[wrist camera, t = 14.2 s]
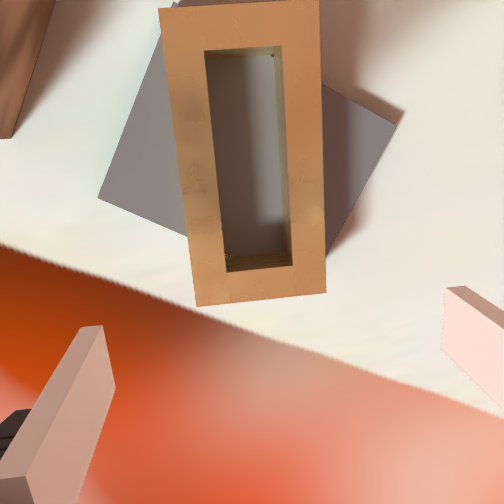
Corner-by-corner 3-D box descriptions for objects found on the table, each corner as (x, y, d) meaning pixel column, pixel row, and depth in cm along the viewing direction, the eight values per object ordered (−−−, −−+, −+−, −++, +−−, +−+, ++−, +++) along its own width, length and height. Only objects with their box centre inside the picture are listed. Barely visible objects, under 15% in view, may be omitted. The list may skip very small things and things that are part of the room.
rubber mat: (174, 6, 23) (173, 1, 22) (390, 125, 27) (397, 125, 26) (101, 195, 26) (97, 197, 25) (304, 283, 29) (308, 288, 28)
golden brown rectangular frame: (306, 14, 23) (319, -2, 20) (314, 275, 28) (326, 292, 25) (165, 23, 23) (158, 8, 20) (198, 288, 28) (196, 307, 25)
